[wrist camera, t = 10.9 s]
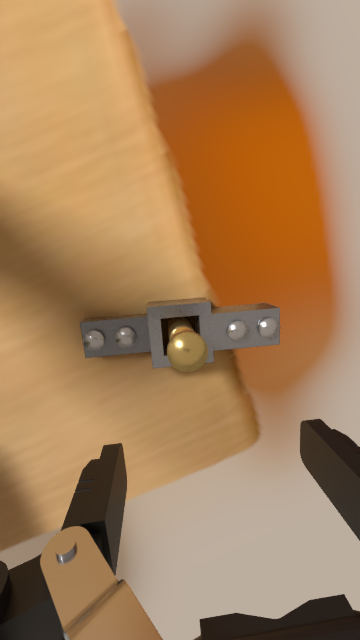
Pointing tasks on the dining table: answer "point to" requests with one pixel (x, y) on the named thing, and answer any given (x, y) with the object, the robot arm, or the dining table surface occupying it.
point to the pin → (185, 346)
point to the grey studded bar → (211, 323)
